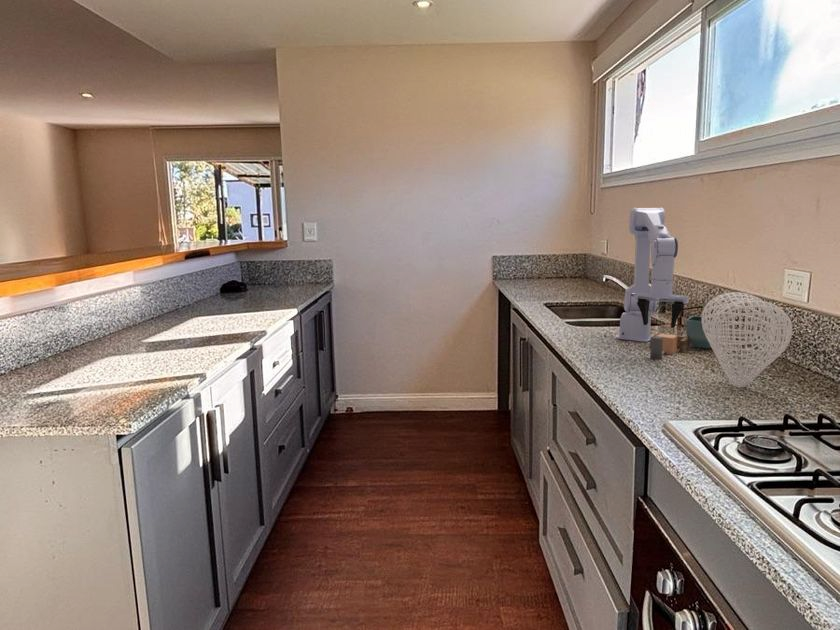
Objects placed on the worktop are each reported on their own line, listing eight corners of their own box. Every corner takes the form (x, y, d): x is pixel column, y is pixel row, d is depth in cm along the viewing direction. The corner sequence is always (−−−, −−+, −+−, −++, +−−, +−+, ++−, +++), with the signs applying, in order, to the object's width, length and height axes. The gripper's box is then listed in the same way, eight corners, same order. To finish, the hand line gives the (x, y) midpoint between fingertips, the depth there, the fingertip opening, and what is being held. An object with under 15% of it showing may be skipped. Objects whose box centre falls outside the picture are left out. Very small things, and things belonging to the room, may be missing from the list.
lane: (649, 348, 180) (650, 337, 179) (656, 343, 186) (657, 333, 185) (683, 352, 174) (684, 341, 173) (689, 347, 180) (690, 336, 179)
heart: (692, 370, 153) (698, 288, 149) (756, 374, 149) (764, 290, 145) (715, 402, 126) (723, 303, 122) (795, 407, 122) (805, 305, 118)
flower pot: (714, 351, 176) (716, 322, 174) (683, 347, 181) (685, 319, 179) (719, 346, 182) (722, 318, 181) (690, 342, 188) (692, 315, 186)
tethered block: (645, 357, 167) (646, 337, 166) (659, 349, 178) (660, 330, 177) (663, 360, 164) (664, 339, 163) (676, 351, 175) (677, 332, 174)
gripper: (632, 279, 165) (629, 325, 167) (685, 282, 157) (682, 330, 159) (639, 277, 171) (636, 321, 173) (691, 280, 162) (688, 326, 164)
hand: (659, 325), depth 166 cm, fingers open, 7 cm apart
